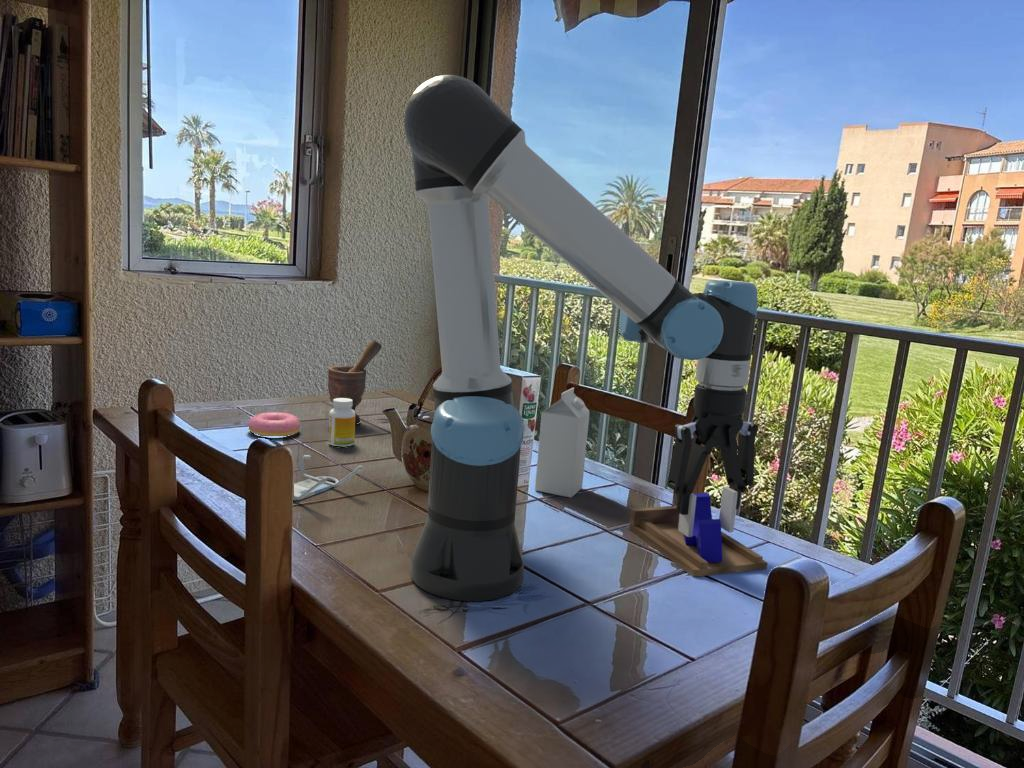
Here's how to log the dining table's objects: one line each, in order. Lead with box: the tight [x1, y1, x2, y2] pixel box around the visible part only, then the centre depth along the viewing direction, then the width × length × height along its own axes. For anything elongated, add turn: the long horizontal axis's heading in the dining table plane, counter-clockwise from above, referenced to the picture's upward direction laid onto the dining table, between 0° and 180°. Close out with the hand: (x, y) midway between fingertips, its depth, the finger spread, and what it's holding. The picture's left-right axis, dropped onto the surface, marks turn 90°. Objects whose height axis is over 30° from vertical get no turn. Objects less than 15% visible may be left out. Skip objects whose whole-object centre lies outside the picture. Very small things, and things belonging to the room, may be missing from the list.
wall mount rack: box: [293, 454, 364, 502], centre depth 125 cm, size 16×14×6 cm
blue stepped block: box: [683, 492, 723, 562], centre depth 113 cm, size 12×4×6 cm, turn 174°
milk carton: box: [534, 387, 590, 499], centre depth 137 cm, size 7×7×19 cm
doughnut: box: [247, 411, 302, 436], centre depth 161 cm, size 11×11×4 cm
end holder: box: [628, 505, 768, 578], centre depth 115 cm, size 13×18×4 cm
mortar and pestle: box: [327, 340, 382, 424], centre depth 173 cm, size 12×9×20 cm
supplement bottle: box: [327, 398, 356, 447], centre depth 155 cm, size 5×5×10 cm
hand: (705, 531), depth 114 cm, fingers open, 7 cm apart
